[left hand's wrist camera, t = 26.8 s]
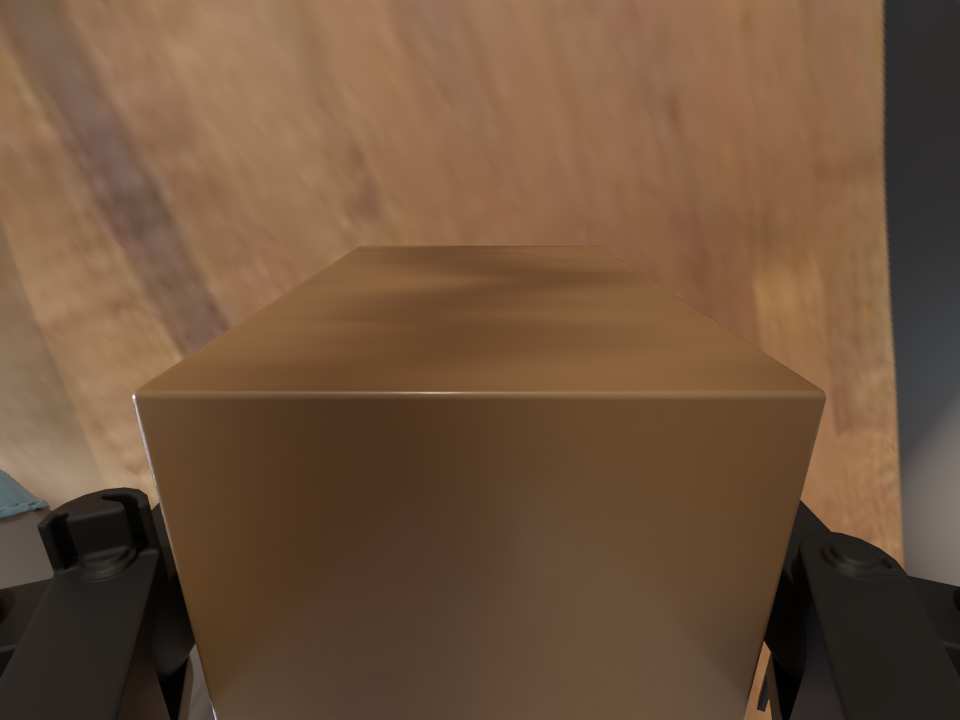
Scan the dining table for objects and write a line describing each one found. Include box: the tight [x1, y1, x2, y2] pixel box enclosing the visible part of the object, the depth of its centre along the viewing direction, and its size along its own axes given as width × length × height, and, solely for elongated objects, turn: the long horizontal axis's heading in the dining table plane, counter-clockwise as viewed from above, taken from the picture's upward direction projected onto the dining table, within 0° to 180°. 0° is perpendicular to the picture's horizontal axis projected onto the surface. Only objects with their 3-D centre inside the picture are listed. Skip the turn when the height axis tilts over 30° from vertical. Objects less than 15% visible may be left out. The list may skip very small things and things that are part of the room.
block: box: [133, 246, 826, 720], centre depth 12 cm, size 7×8×11 cm
